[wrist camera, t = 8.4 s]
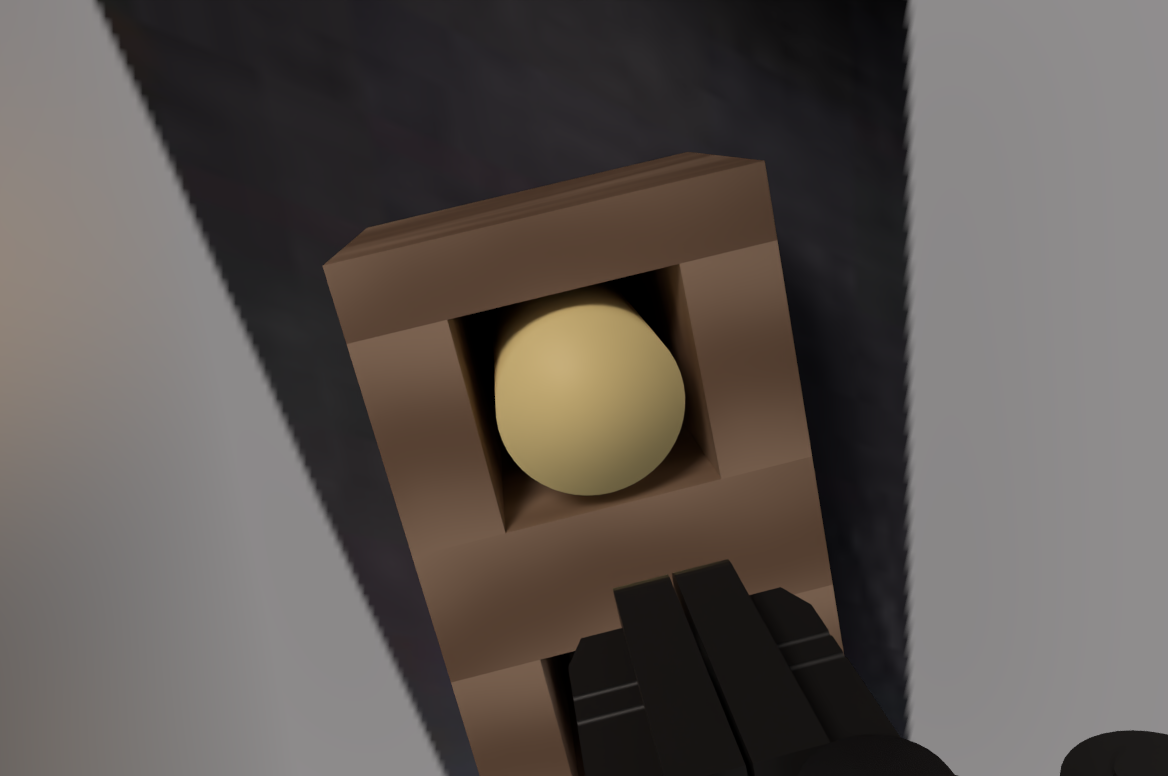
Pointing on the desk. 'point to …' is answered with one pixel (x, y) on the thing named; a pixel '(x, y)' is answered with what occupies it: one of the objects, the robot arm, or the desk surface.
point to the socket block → (566, 521)
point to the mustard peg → (584, 390)
